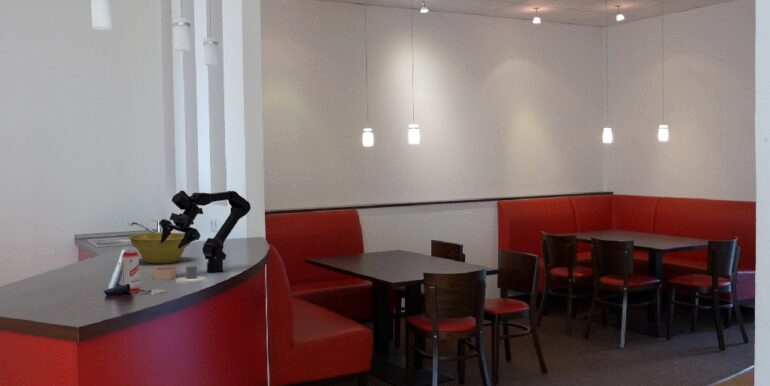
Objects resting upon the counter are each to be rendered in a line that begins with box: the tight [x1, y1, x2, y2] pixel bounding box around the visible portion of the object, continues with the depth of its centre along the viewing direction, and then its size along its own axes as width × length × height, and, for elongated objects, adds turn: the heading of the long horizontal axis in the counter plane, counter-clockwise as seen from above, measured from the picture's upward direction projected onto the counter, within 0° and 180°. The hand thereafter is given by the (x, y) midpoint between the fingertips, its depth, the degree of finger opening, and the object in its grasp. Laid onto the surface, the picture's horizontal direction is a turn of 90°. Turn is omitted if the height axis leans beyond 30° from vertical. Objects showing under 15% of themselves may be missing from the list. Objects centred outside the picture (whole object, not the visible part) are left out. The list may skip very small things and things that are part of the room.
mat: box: [174, 277, 210, 284], centre depth 309 cm, size 13×13×1 cm
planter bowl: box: [127, 232, 191, 264], centre depth 369 cm, size 32×32×13 cm
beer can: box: [121, 250, 140, 294], centre depth 283 cm, size 6×6×16 cm
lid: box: [176, 265, 207, 283], centre depth 309 cm, size 12×12×6 cm
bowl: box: [153, 266, 177, 280], centre depth 316 cm, size 9×9×4 cm
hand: (169, 245), depth 312 cm, fingers open, 9 cm apart
